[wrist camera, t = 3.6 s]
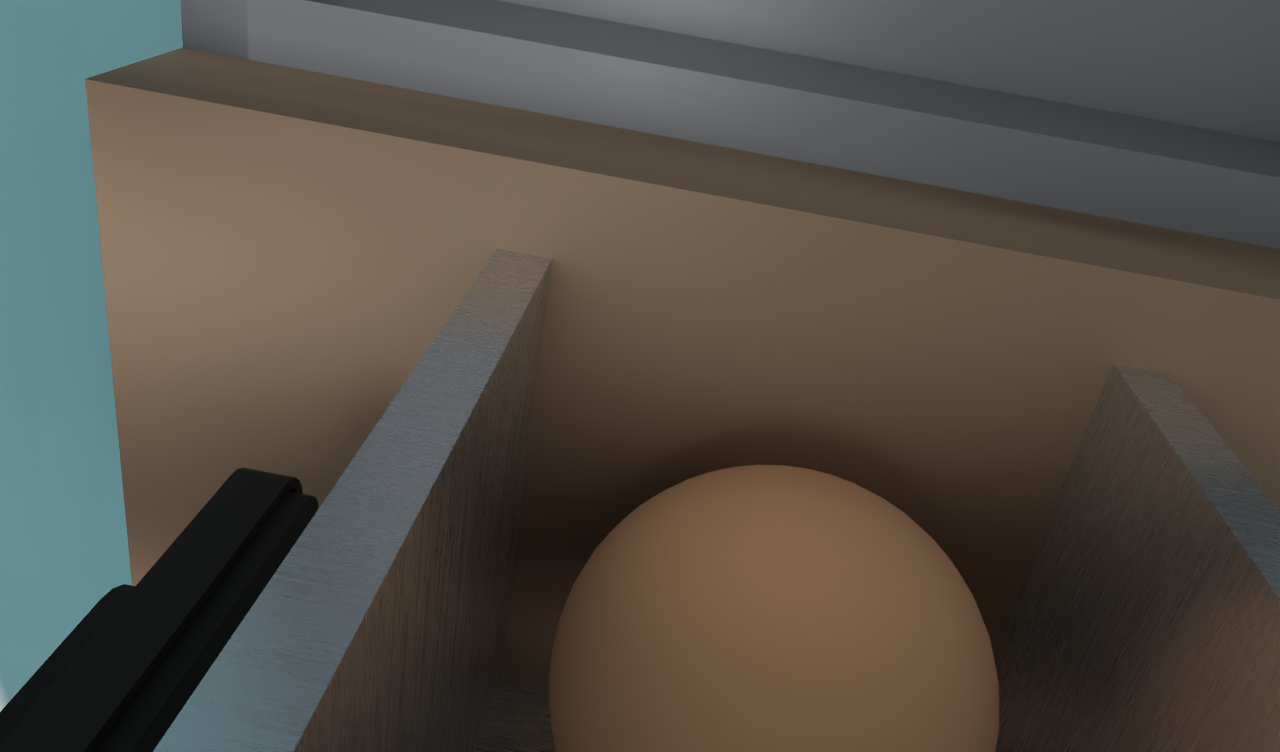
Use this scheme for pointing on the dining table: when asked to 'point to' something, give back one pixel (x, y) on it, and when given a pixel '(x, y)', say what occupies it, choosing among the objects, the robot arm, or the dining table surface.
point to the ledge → (628, 315)
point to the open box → (519, 712)
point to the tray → (855, 85)
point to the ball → (771, 627)
